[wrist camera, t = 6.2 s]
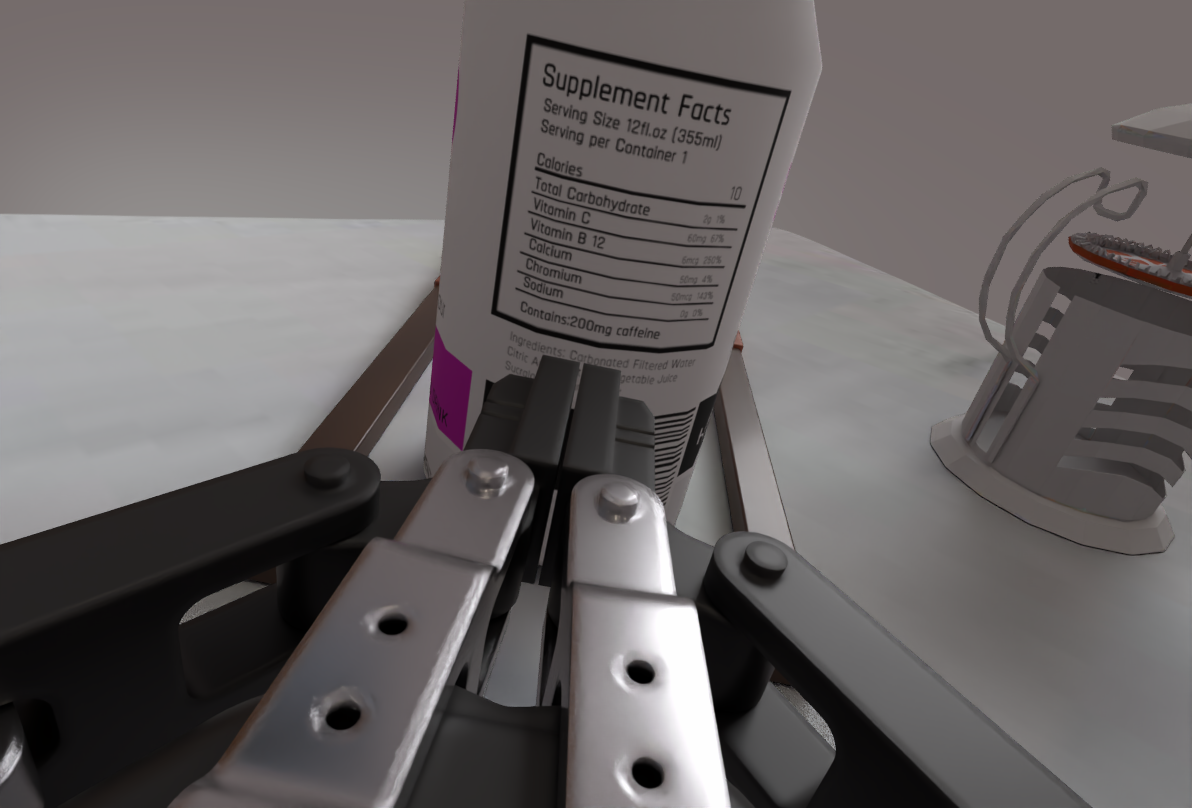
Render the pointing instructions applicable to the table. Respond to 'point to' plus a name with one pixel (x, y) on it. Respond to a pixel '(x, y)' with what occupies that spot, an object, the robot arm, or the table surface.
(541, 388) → the robot arm
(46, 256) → the table surface
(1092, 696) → the table surface
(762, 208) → the supplement can
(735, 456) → the slide track
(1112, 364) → the french press
